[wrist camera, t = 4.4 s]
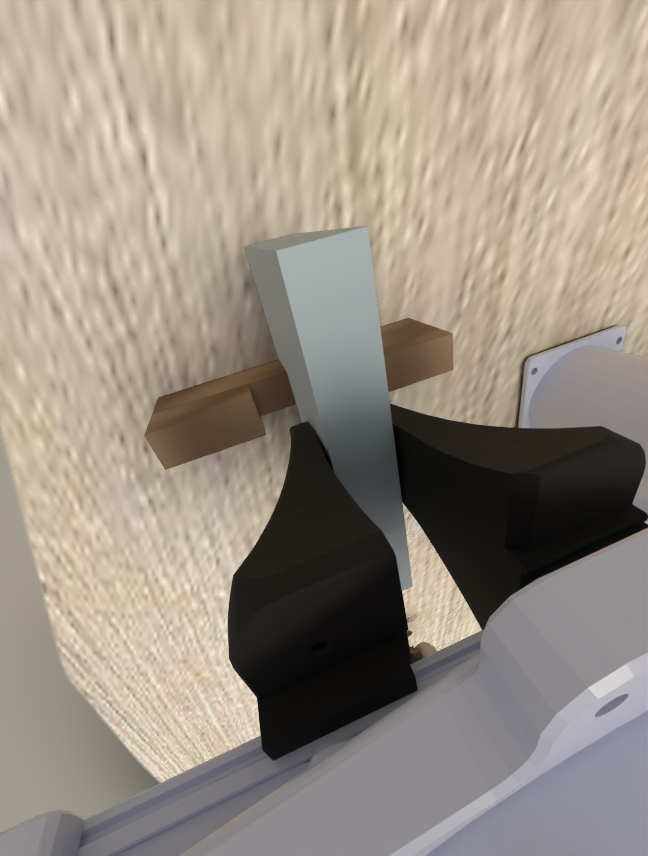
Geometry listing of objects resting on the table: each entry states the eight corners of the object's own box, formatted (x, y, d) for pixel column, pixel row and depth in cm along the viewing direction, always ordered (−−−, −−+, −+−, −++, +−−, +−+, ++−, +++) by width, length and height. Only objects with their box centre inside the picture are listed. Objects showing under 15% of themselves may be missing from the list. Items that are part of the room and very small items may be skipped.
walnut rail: (408, 318, 18) (452, 333, 15) (411, 348, 19) (453, 369, 16) (158, 397, 17) (144, 435, 13) (174, 427, 18) (165, 469, 14)
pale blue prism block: (348, 477, 18) (412, 586, 13) (318, 488, 18) (369, 605, 12) (291, 234, 12) (367, 225, 6) (243, 246, 12) (276, 250, 6)
